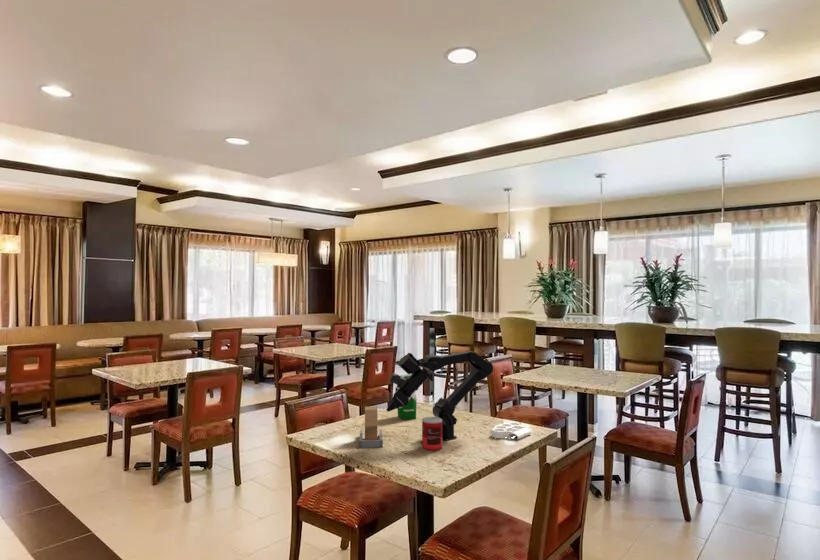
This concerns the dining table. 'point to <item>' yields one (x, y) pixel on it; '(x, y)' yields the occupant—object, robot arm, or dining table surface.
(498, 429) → the white egg tray
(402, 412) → the milk carton
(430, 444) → the canned food
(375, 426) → the block
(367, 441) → the gray u-shaped bracket
